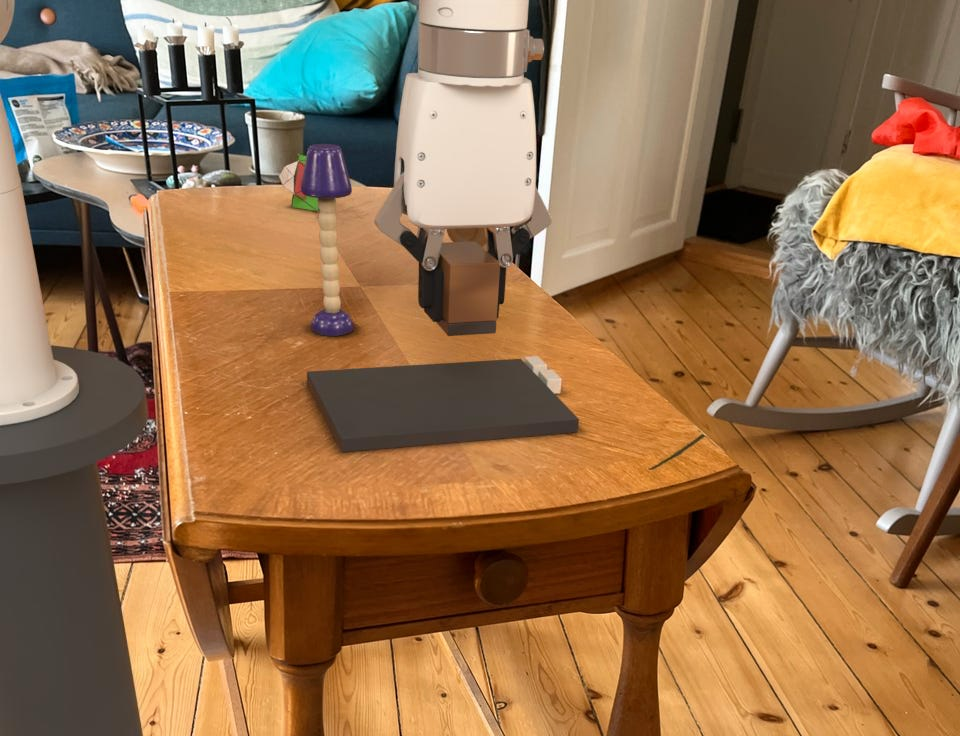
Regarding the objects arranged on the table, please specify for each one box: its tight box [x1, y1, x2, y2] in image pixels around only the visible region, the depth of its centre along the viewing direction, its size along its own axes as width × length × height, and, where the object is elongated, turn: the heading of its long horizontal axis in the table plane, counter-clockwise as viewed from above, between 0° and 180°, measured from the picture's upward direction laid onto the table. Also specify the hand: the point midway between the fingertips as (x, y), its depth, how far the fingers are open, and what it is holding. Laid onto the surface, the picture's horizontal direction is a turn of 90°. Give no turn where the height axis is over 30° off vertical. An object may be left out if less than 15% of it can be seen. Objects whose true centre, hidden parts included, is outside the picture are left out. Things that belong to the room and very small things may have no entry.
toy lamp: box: [301, 143, 355, 337], centre depth 98 cm, size 5×5×17 cm
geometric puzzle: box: [278, 153, 320, 213], centre depth 140 cm, size 7×7×8 cm
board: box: [306, 358, 580, 453], centre depth 88 cm, size 20×14×1 cm
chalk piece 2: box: [538, 368, 563, 395], centre depth 93 cm, size 1×2×1 cm
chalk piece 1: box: [523, 355, 548, 376], centre depth 96 cm, size 1×2×1 cm
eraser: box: [435, 241, 500, 337], centre depth 82 cm, size 4×6×6 cm, turn 18°
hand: (460, 312), depth 83 cm, fingers closed on eraser, 4 cm apart
